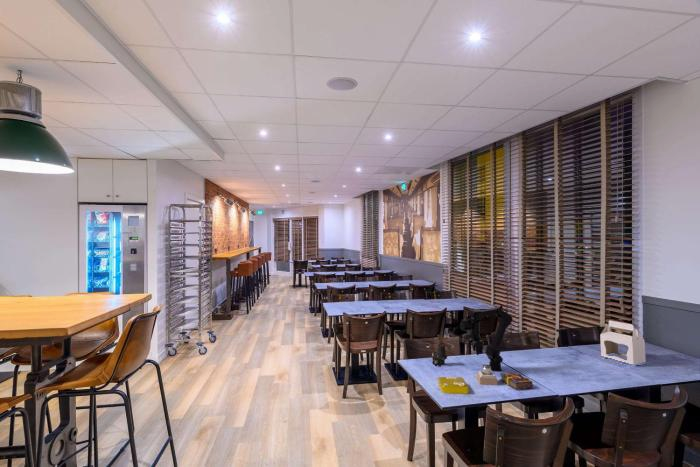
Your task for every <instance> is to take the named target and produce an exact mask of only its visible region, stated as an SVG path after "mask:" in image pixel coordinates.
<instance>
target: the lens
mask: <svg viewBox="0 0 700 467" xmlns="http://www.w3.org/2000/svg"><path fill="white" fill-rule="evenodd" d="M481 366H482V371H483V375H491V371H492V370H491V366H490V365H489V364H482V365H481Z"/></svg>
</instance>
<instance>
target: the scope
mask: <svg viewBox="0 0 700 467" xmlns="http://www.w3.org/2000/svg"><path fill="white" fill-rule="evenodd" d="M431 354H432V355H431V364H432V363H433V364H432V365H435V366H434V367H437V365H440V366H441V365H444V364H446V362H445V361H446V360H447V359H448V356H447V355H446V344H444V343H439V344H437V355H436V356H435V355H434V352H432V353H431ZM444 366H445V365H444Z"/></svg>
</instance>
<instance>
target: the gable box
mask: <svg viewBox="0 0 700 467" xmlns="http://www.w3.org/2000/svg"><path fill="white" fill-rule="evenodd" d="M604 326H605V327H604V328H603V329H602V330H601V332H600V334H599V335H600V337H599V338H600V340H599V341H600V355H601V356H604V357H608V358H612V359H615V360H618V361H622V362H626V363H629V364H633V365H634V364H638V363H642V362H646V344H645V342H646V341H645V339H644V337H643V336H642V335H641V333H640V332H639V330H638V329H637V328H635V327H636V326H635V325H634V324H633V323H632V324H631V323H628V322H627V323H626V322H622V321H615V320H608V323H605V325H604ZM612 328H615V329H622V330H626V331H631V332H632V335H628V334H624V333H619V332H613V331H612ZM619 345H625V346H627V348H628V350H627V352H626V353H621V352H619ZM610 353H615V354H618V355H622V356H626V357H627V360H624V359H622V358H619V357H617V356H608V355H607V354H610ZM601 356H600V357H601Z"/></svg>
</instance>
